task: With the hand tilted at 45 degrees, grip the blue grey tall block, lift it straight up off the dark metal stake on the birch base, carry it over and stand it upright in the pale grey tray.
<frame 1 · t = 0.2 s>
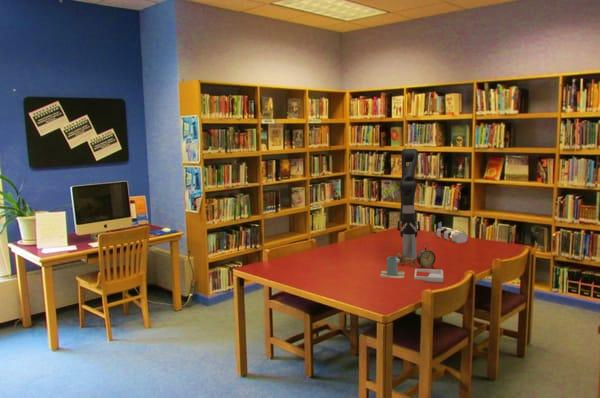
hand: (408, 237, 319), 18 cm above the table, tool pointing down, fingers open, 8 cm apart
tray: (428, 278, 291), on the table
blue grey tall block: (392, 274, 296), point 1 cm above the table, touching stake base
lion figurine: (406, 268, 314), on the table
white black banded cylinder: (451, 240, 385), on the table
alarm clock: (425, 268, 310), on the table
stake base: (392, 276, 296), on the table
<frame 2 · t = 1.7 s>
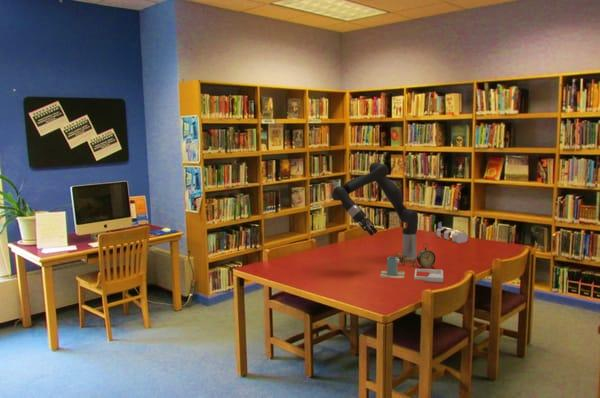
hand: (374, 233, 297), 26 cm above the table, tool tilted 45°, fingers open, 8 cm apart
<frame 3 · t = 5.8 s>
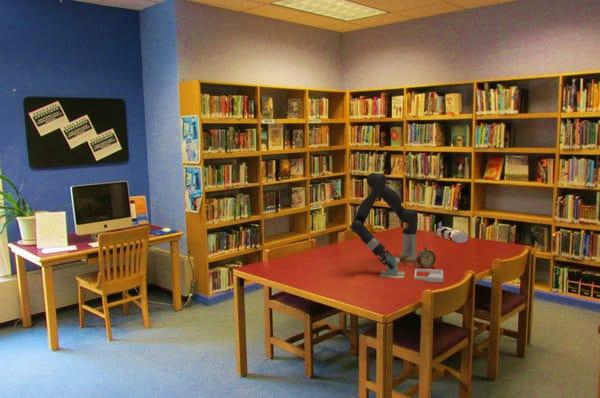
hand: (394, 266, 295), 6 cm above the table, tool tilted 45°, fingers open, 8 cm apart
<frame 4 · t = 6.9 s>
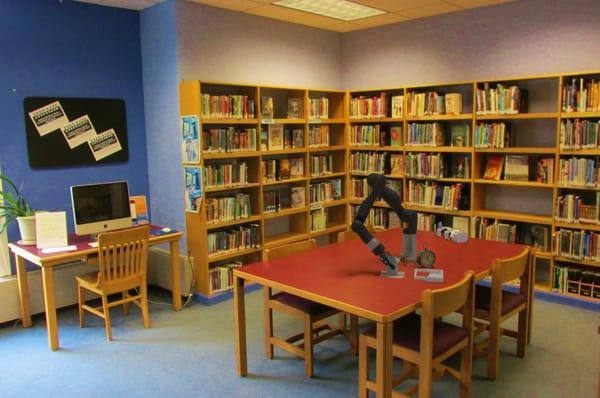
hand: (395, 267, 295), 6 cm above the table, tool tilted 45°, fingers closed on blue grey tall block, 5 cm apart
blue grey tall block: (392, 274, 296), point 2 cm above the table, touching gripper, stake base
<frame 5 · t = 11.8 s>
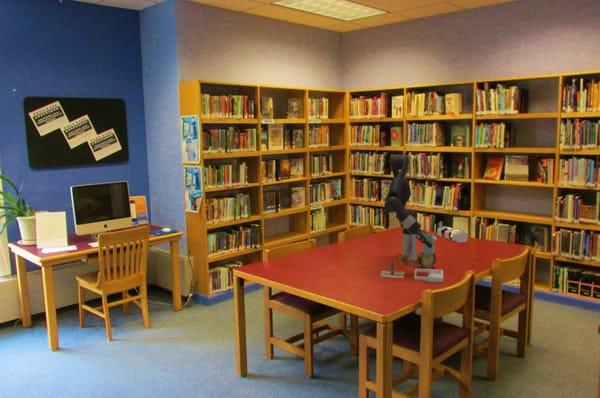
hand: (432, 245, 287), 19 cm above the table, tool tilted 45°, fingers closed on blue grey tall block, 5 cm apart
blue grey tall block: (428, 252, 289), point 15 cm above the table, touching gripper
lion figurine: (409, 268, 313), on the table, touching alarm clock
alarm clock: (426, 268, 310), on the table, touching lion figurine
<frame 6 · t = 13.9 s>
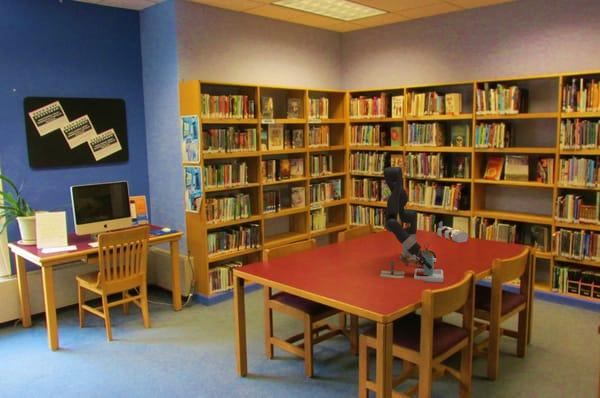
hand: (431, 267, 289), 7 cm above the table, tool tilted 45°, fingers closed on blue grey tall block, 5 cm apart
blue grey tall block: (428, 273, 290), point 3 cm above the table, touching gripper
when the fingers open (7 cm above the table, at t = 14.8 s): blue grey tall block drops 2 cm, resting on tray.
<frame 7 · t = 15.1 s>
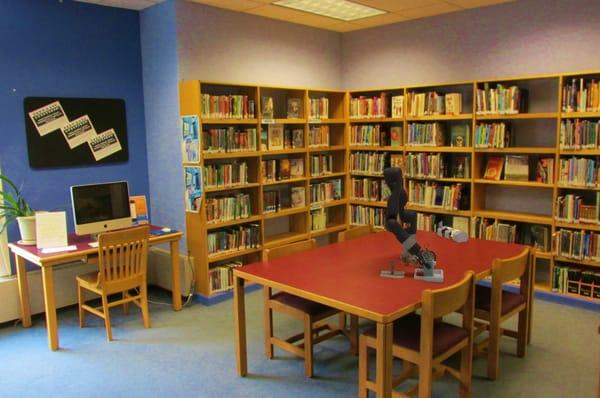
hand: (431, 266, 289), 7 cm above the table, tool tilted 45°, fingers open, 7 cm apart
blue grey tall block: (428, 276, 291), point 1 cm above the table, touching tray
lion figurine: (410, 268, 313), on the table
alarm clock: (426, 269, 310), on the table
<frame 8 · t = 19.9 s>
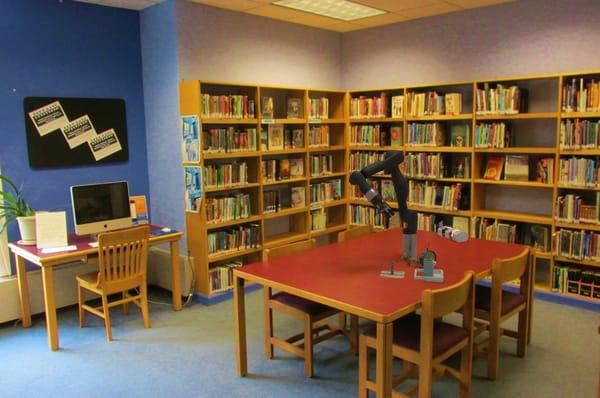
hand: (392, 216, 302), 35 cm above the table, tool tilted 45°, fingers open, 8 cm apart
lion figurine: (411, 268, 313), on the table, touching alarm clock
alarm clock: (427, 269, 310), on the table, touching lion figurine
at the end: blue grey tall block inside the target area on the tray (0.1 cm from its centre), point 0.8 cm above the tray's base; blue grey tall block tilted 0°; the gripper is holding nothing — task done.
